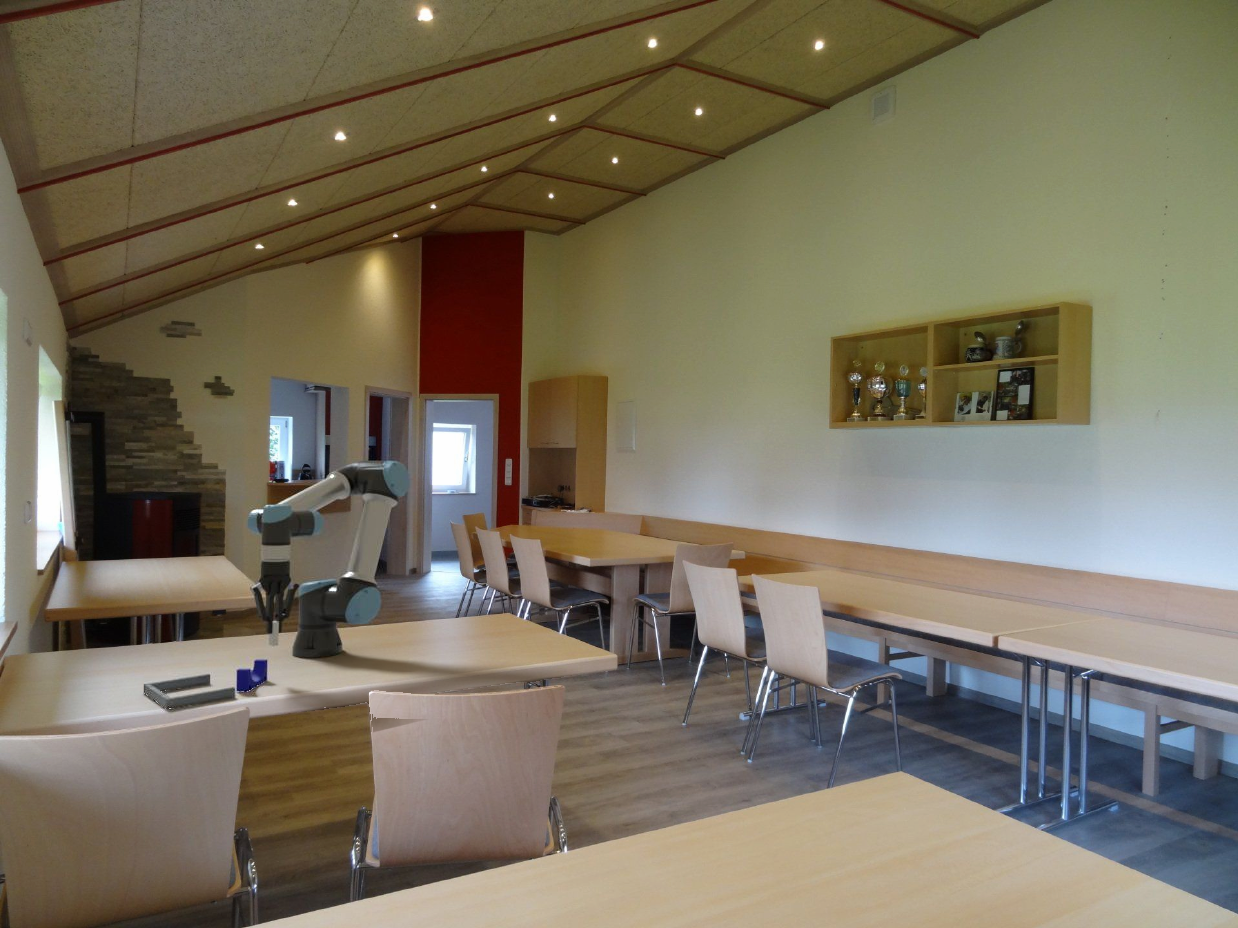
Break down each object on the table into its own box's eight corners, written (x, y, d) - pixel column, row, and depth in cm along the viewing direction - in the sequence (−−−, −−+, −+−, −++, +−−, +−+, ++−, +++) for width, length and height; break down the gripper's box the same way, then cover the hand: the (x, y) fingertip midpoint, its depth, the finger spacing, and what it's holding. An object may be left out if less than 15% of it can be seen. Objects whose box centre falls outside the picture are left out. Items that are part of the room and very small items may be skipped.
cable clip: (251, 680, 229) (251, 659, 229) (267, 680, 229) (267, 659, 229) (230, 692, 217) (231, 669, 217) (247, 692, 217) (248, 670, 217)
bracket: (208, 682, 225) (208, 673, 225) (234, 697, 211) (235, 687, 211) (143, 693, 214) (143, 684, 214) (166, 709, 200) (167, 699, 200)
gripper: (293, 557, 235) (291, 639, 235) (246, 560, 226) (244, 645, 226) (304, 559, 230) (302, 643, 230) (257, 562, 221) (254, 650, 220)
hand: (273, 644), depth 228 cm, fingers closed
